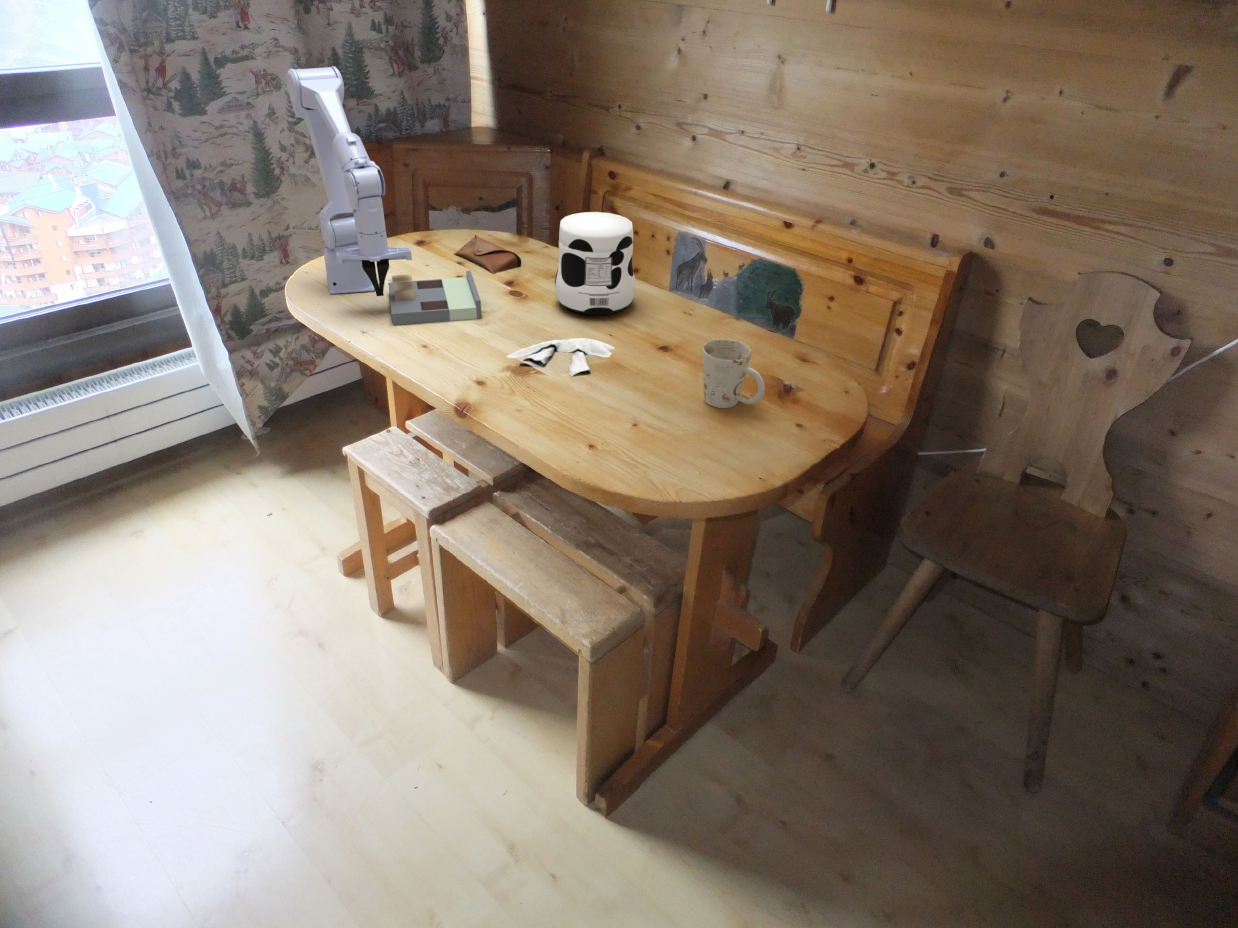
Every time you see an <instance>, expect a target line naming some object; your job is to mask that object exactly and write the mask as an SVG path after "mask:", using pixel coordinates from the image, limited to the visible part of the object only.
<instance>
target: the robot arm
mask: <svg viewBox="0 0 1238 928" xmlns="http://www.w3.org/2000/svg"><path fill="white" fill-rule="evenodd" d="M285 76H286V77H285V79H286V87H287V91H288V92H287V93H288V95H289V99H290V103H291V107H292V109H293V111H294V114H295V116H296V117H298V118H300V119H302V120H304V122H305V125H306V127H307V129H308V133H309V136H310V140H311V144H312V146H313V150H314V155H315V157H316V162H317V166H318V168H319V173H320V176H321V179H322V183H323V187H324V189H325V190H324V191H325V193H326V197H327V201H328V202H327V204H326V205H324V207H323V208H322V209H321V211H320V212H319V214H318V218H319V223H320V232H321V237H322V240H323V242H324V244H325V245H326V247H327V248H326V247H325V248H323V256H324V257H323V258H324V264H325V265H324V266H325V271H326V282H327V283H328V287H329V293H330V294H331V295H334V294H348V293H349V294H350V293H362V292H375V295H376V297H384V295H385V294H384V289H385V288H384V287H385V281H386V278H387V275H388V272H389V269H390V261H396V260H397V261H398V260H406V261H412V260H413V258H412V257H413V256H412V249H411V247H396V246H395V247H393V246H391V247H390V246H389V245H388V237H387V230H386V221H385V215H384V213H385V212H384V206H383V199H382V197H384V196H385V195H386V183H385V178H384V175H383V172H382V170H381V168H380V167H379V165H378V164H376V163H375V161H374V160H371V158H370V157H369V155H368V153H367V150H366V148H365V145H364V144H363V141H362V139H361V137H360V136H359V135H358V134H356V133H353V132H352V130H351V127H350V124H349V122H348V119H347V116H346V113H345V110H344V107H343V103H344V96H345V84H344V80H343V76H342V74H341V72H340V70H339V69H338V68H337V67H336V66H334V65H331V66H329V67H315V68H313V67H312V68H298V69H294V68H289V69H288V70H287V72H286V75H285Z"/></svg>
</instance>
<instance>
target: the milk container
mask: <svg viewBox="0 0 1238 928" xmlns="http://www.w3.org/2000/svg"><path fill="white" fill-rule="evenodd" d="M559 223H560V224H559V232H558V238H559V240H558V255H559V256H558V266H557V269H556V274H555V277H554V278H555V279H554V289H555V294H556V298H557V300H558V301H559V303H560V304H561V305H562V306H564V308H567V309H569V310H570V311H572V312H575V313H580V314H584V315H608V314H613V313H617V312H620V311H622V310H623V309H626V308H627V307H629V306H630V304H631V303H632V301H633V299H634V295H635V292H636V277H635V273H634V269H633V254H634V253H633V252H634V244H633V243H634V228H633V222H632V221H631V220H630V219H628V217H625V216H622V215H620V214H615V213H610V212H602V211H600V212H599V211H591V212H590V211H585V212H584V211H583V212H578V213H573V214H568V215H566V216H564V217H563V218H562V219H561V220H560V222H559Z"/></svg>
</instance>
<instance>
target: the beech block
mask: <svg viewBox="0 0 1238 928" xmlns="http://www.w3.org/2000/svg"><path fill="white" fill-rule="evenodd" d="M391 279H392V281H391V282H393V288H394V296H395V301H403V300H415V297H414V289H413V281H414V280H413V275H412V274H399V275H398V274H397V275H396V274H395V275H391Z"/></svg>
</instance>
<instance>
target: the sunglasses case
mask: <svg viewBox="0 0 1238 928" xmlns="http://www.w3.org/2000/svg"><path fill="white" fill-rule="evenodd" d="M452 255H454V256H457V257H459V258H461V259H463V260H466V261H468V262H470V263H472V264H474V265H476V266H478V267H480V268H482V269H484V270H485V271H488V272H489V273H491V274H494V275H495V274H496V275H497V274H498V273H501V272H506V271H510V270H513V269H517V268H521V266H522V259H521V257H520V256H519V255H518V254H517V253H515V252H514V251H511V250H507V249H506V248H504V247H502V246H500V245H497V244H495V243H493V242H491V241H488V240H486V239H484V238H482V237H479V236H478V235H476V234H474V237H473V238H472V239H470V240H469V241H468V242H466V243H465V244H464V245H463V246H462V247H460V248H459V249H458V250H457V251H456V252H454V253H453V254H452Z"/></svg>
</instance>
